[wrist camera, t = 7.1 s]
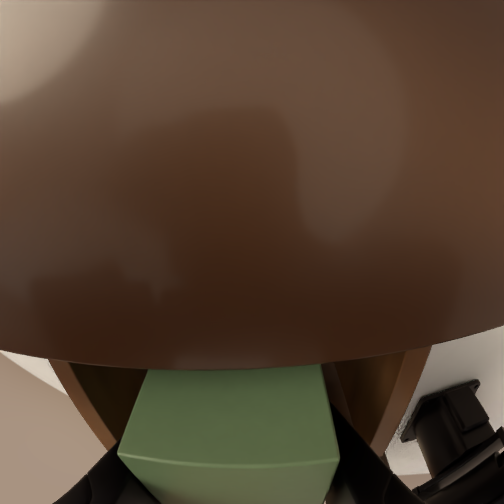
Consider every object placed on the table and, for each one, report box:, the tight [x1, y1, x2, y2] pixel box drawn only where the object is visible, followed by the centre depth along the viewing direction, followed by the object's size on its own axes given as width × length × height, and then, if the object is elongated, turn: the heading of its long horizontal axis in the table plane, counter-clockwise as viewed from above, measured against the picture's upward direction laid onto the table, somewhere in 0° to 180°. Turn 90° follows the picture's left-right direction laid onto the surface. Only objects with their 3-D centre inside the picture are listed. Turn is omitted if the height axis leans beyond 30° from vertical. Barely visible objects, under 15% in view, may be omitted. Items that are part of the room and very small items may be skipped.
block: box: [117, 364, 340, 504], centre depth 7 cm, size 4×4×4 cm
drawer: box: [48, 345, 432, 468], centre depth 11 cm, size 18×11×7 cm, turn 4°
